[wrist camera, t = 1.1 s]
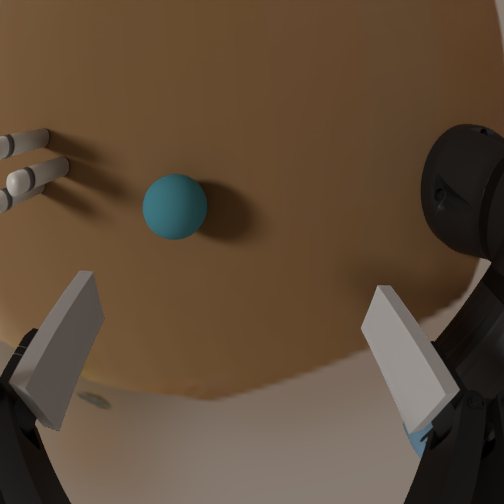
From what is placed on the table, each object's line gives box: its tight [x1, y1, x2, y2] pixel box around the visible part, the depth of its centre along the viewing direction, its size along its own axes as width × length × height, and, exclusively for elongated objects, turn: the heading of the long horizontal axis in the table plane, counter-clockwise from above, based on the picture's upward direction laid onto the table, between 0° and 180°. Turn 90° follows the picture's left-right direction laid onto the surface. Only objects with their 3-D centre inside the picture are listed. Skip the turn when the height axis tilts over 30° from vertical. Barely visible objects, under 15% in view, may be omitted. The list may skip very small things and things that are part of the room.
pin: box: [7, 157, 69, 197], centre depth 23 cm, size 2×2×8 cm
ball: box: [143, 174, 207, 240], centre depth 26 cm, size 6×6×6 cm
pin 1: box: [0, 128, 49, 159], centre depth 21 cm, size 2×2×8 cm
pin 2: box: [0, 184, 45, 213], centre depth 24 cm, size 2×2×8 cm
